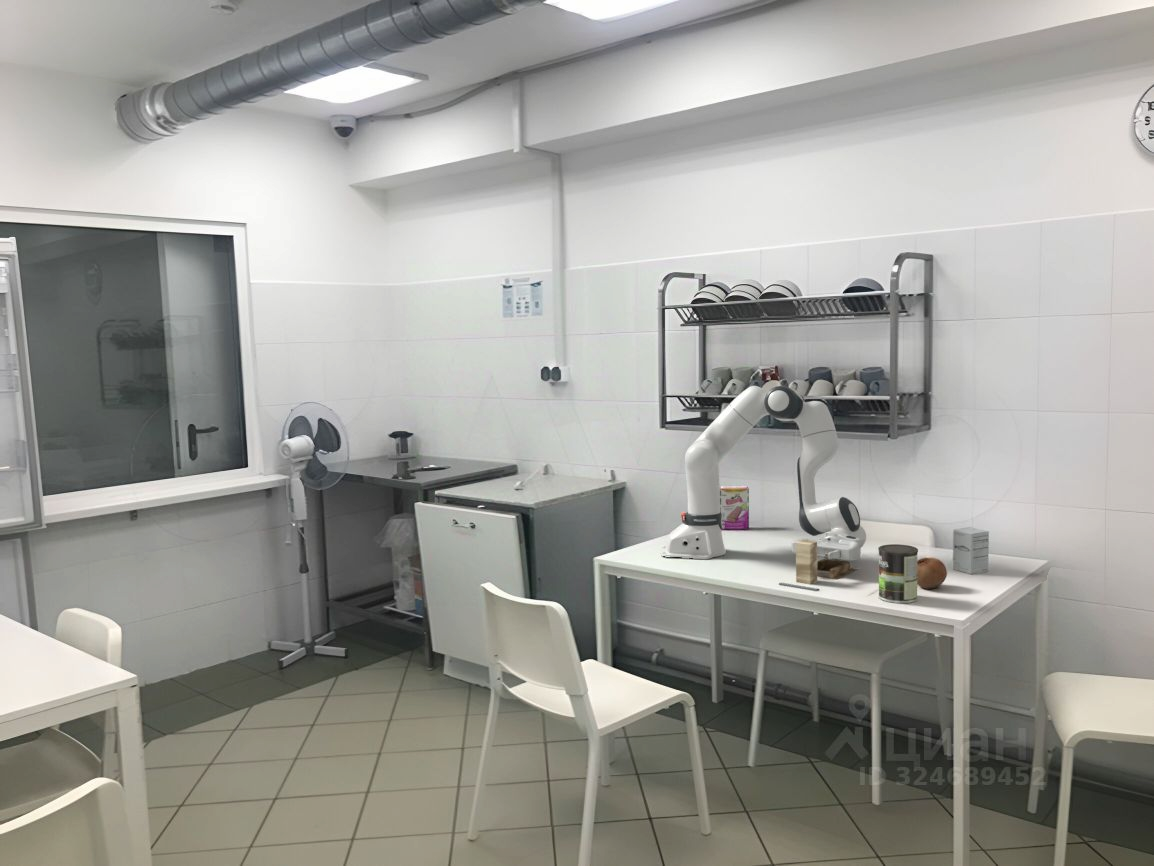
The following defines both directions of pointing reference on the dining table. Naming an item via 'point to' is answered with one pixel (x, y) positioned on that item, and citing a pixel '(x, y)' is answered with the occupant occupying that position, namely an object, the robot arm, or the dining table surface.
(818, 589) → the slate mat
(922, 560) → the onion
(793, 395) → the robot arm
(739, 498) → the candy bar box
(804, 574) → the maple block
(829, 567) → the walnut chute
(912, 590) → the coffee can
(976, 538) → the supplement box
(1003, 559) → the dining table surface
